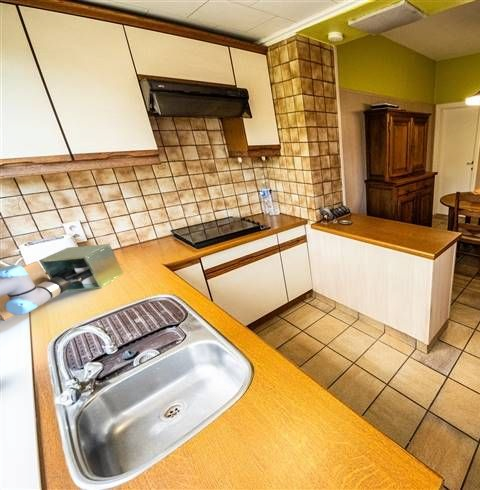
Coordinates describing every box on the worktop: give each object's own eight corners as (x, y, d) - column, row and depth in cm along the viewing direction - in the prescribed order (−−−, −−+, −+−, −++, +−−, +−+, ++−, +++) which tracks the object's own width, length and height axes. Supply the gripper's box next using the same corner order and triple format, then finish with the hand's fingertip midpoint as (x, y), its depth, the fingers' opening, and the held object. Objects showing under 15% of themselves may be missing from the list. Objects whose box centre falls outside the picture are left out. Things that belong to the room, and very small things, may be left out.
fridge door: (-9, 320, 112) (-37, 284, 105) (45, 293, 131) (25, 261, 124) (4, 320, 112) (-22, 284, 105) (58, 293, 130) (38, 261, 123)
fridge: (102, 288, 133) (85, 256, 126) (58, 292, 131) (38, 260, 124) (123, 273, 147) (109, 243, 139) (84, 277, 145) (67, 247, 138)
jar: (109, 276, 143) (99, 256, 138) (96, 284, 135) (85, 263, 130) (92, 277, 142) (82, 257, 138) (78, 285, 135) (66, 264, 130)
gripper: (32, 297, 120) (76, 272, 141) (79, 292, 122) (117, 269, 143) (22, 283, 117) (69, 260, 138) (71, 278, 119) (110, 256, 140)
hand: (93, 264), depth 140 cm, fingers closed on jar, 7 cm apart
